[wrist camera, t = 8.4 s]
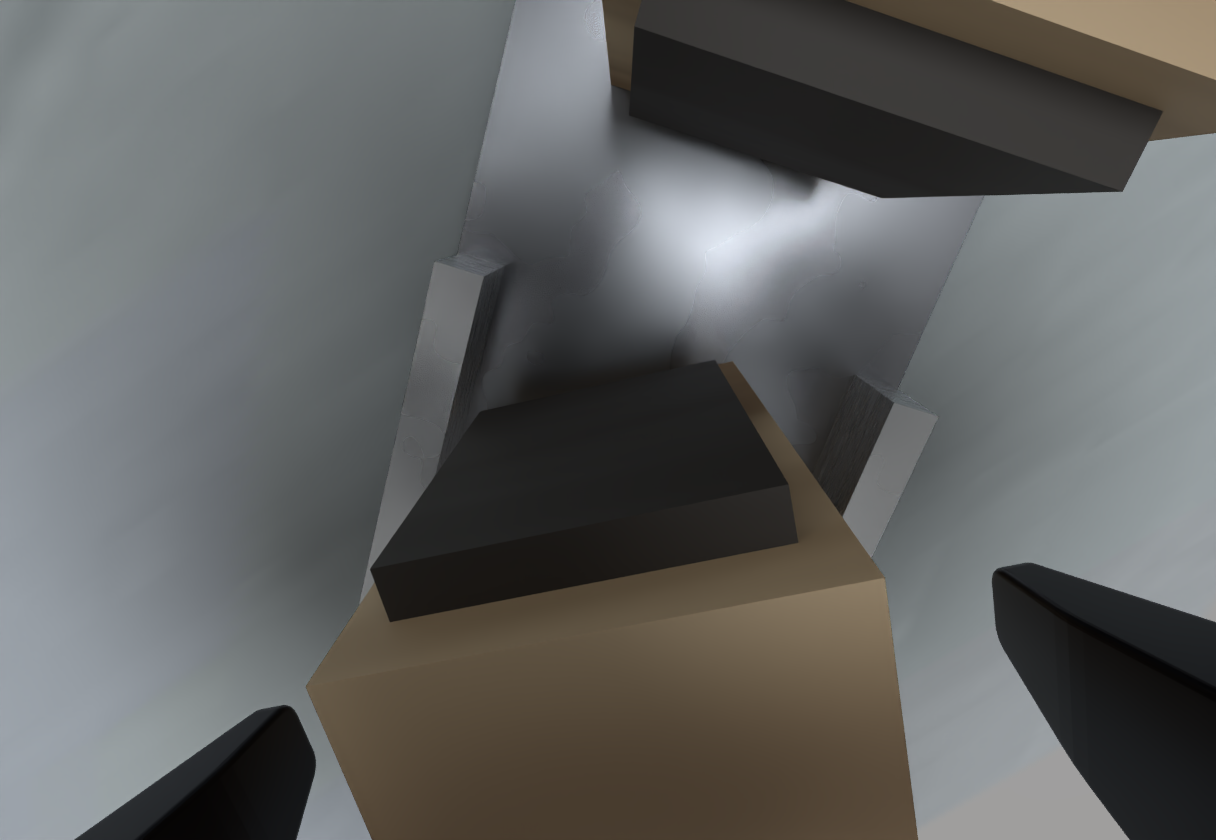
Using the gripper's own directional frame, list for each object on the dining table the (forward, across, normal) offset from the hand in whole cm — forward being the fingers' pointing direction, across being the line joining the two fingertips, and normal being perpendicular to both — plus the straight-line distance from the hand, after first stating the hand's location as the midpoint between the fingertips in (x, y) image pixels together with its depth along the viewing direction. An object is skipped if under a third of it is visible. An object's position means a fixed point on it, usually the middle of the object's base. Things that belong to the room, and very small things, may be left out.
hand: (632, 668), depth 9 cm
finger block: (+6, 0, 0) cm, 6 cm away
